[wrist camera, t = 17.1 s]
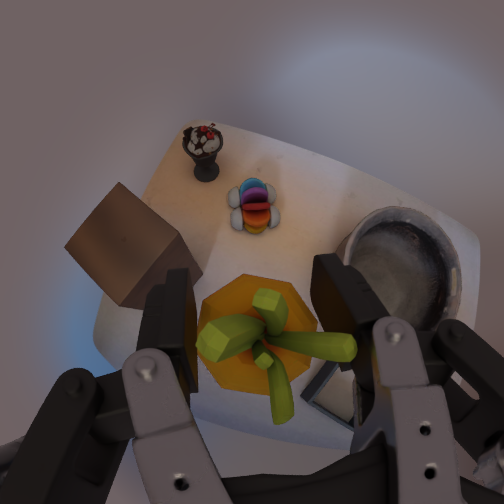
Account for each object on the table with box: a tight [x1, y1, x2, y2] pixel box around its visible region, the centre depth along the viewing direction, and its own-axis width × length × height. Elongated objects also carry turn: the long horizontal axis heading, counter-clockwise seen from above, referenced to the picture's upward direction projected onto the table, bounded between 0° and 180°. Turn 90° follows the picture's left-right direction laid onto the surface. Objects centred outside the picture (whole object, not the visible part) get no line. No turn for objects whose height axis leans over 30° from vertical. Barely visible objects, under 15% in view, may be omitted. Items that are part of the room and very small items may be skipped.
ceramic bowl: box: [336, 206, 462, 331], centre depth 44 cm, size 22×22×15 cm
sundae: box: [182, 123, 223, 182], centre depth 47 cm, size 7×7×15 cm
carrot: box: [195, 274, 358, 425], centre depth 13 cm, size 5×5×15 cm
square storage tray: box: [300, 360, 354, 432], centre depth 44 cm, size 12×12×5 cm
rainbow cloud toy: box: [228, 178, 280, 234], centre depth 50 cm, size 8×10×7 cm
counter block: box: [64, 182, 203, 310], centre depth 38 cm, size 9×9×24 cm
